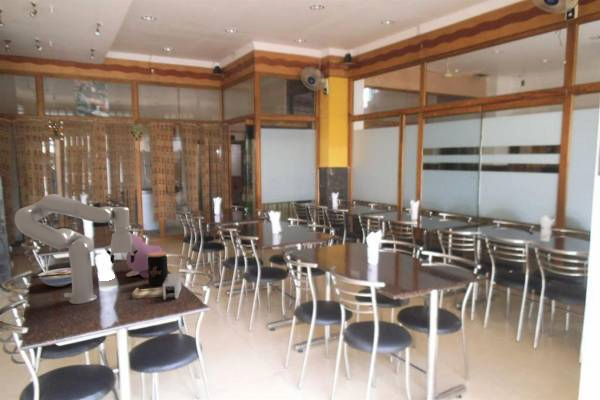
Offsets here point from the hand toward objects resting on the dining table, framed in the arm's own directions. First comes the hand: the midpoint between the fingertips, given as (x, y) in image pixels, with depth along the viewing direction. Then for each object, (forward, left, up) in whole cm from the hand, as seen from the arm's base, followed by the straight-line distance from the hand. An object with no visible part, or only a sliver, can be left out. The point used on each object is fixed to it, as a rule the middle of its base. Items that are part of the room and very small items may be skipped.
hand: (122, 262), depth 221 cm
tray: (+13, 0, -18) cm, 22 cm away
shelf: (+25, 0, -18) cm, 31 cm away
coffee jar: (+14, +20, -18) cm, 31 cm away
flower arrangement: (0, +46, -19) cm, 49 cm away
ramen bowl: (-42, +30, -19) cm, 55 cm away
